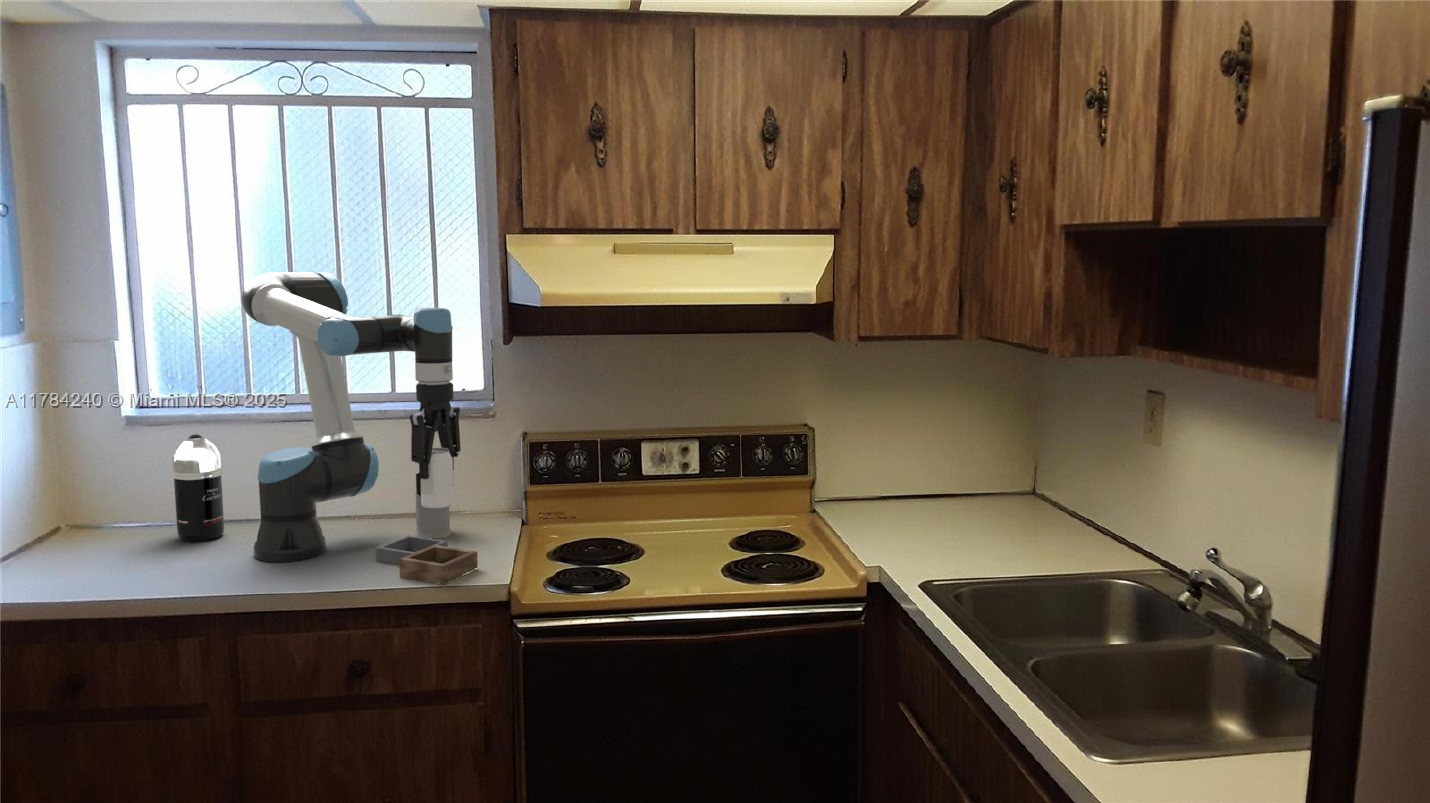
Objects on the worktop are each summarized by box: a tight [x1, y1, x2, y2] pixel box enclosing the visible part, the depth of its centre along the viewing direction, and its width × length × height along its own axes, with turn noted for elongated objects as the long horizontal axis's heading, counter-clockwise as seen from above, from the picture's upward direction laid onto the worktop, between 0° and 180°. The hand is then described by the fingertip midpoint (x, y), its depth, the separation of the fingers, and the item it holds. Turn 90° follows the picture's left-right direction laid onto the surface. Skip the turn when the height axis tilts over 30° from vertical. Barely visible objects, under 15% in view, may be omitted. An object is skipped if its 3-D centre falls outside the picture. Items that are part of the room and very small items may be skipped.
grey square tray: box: [375, 535, 449, 565], centre depth 223 cm, size 11×11×3 cm
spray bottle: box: [171, 433, 225, 543], centre depth 234 cm, size 10×10×25 cm
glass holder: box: [414, 472, 453, 539], centre depth 243 cm, size 9×14×15 cm, turn 29°
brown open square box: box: [398, 545, 479, 585], centre depth 212 cm, size 12×12×4 cm
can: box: [421, 447, 454, 509], centre depth 209 cm, size 6×6×12 cm
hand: (437, 489), depth 210 cm, fingers closed on can, 6 cm apart
